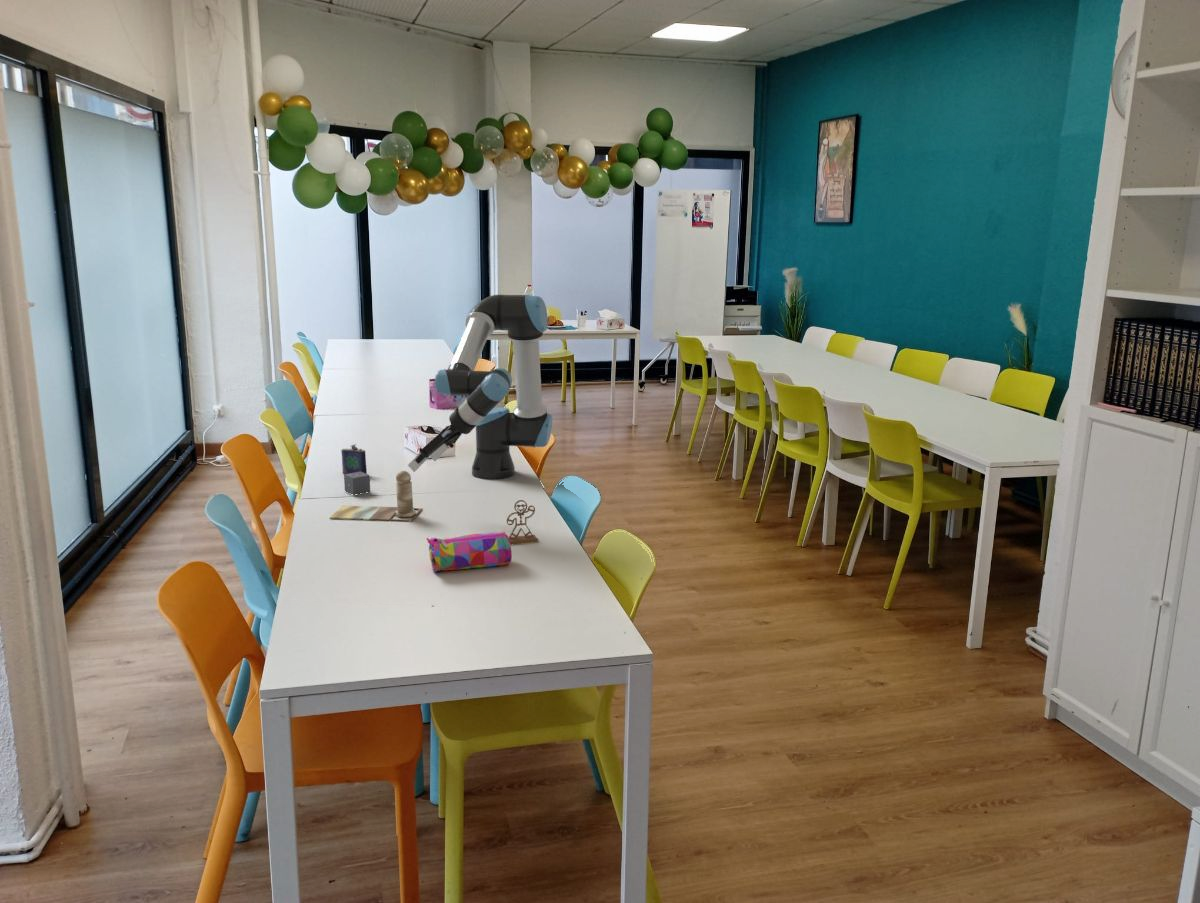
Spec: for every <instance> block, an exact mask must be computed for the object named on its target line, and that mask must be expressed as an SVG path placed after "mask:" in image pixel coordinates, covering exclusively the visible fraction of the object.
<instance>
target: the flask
mask: <svg viewBox="0 0 1200 903" xmlns="http://www.w3.org/2000/svg"><path fill="white" fill-rule="evenodd" d="M350 447H351V448H342V449H341V451H340V452H341V462H342V463H341V464H342V465H341V466H342V474H343V475H344V474H349V473H355V472H360V471H361V472H363V473H366V474H368V473H367V471H368V470H367V458H366V457H367V456H366V450H365V449H362V448H358V447H357V444H352V445H350Z"/></svg>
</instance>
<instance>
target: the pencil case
mask: <svg viewBox="0 0 1200 903" xmlns="http://www.w3.org/2000/svg"><path fill="white" fill-rule="evenodd" d="M426 541H427V543H428V551H429V552H428V553H429V554H428V555H429V558H430V559H429V560H430V564H431V568H432V572H434V573H436V572H439V571H440V572H441V571H444V572H445V571H456V570H457V571H459V570H465V569H478V568H479V569H481V568H489V567H490V568H491V567H499V566H500V567H501V566H506V565H510V564H511V562H512V554H513V553H512V552H513V551H512V545H510V540H509V535H507V532H506V531H505V530H504V531H500V532H489V533H472V534H465V535H461V536H455V537H449V538H438V537H431V538H429V537H426Z"/></svg>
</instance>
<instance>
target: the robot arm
mask: <svg viewBox="0 0 1200 903" xmlns="http://www.w3.org/2000/svg"><path fill="white" fill-rule="evenodd" d="M548 320H549V316H548V311H547V305H546V303H545V301H544V299H543V298H542V297H541V296H539V295H530V294H493V295H490V296H487V297H485V298H484V299H482V300H480V301H479V302H478V303H477V304H476V305H474V306H473V307H472V308H471V309H470V311H469V312H468V314H467V316H466V318H465V321H464V322H465V329H464V331H463V333H462V336H461V338H460V340H459V343H458V345H457V348H456V349H455V352H454V354H453V356H452V359H451V361H450V364H449V365H448V367H447V369H446V368H444V369H439V370H437V371H436V373H435V375H434V376H435V378H434V379H435V388H436V391H437V392H438V393H439V394H443V395H450V396H451V395H456V396H468V398H467V399H465V398H464V399H463V403H462V404H461V405H460V406H459V407H456V409H455V410H454V411H453V412H452V413H451V414H450V415H449V417H448V418H449V419H448V420H449V423H450V425H447V426H445V428H443V429H442V430H441V431H440V432H439V433H438V434H437V435H436V436H435V437H434V438H432V440H430V441H429V442H428V443H427V444H426V445H425V446H423V447H420V448H419V453H418V454H417V455H416V456H415V457H414V458H413V459H412V460H411V461H410V462H409V463H408V464H407V467H409V468H410V469H411V471H412V472H413V473H415V472H416V471H417V470H418V469H419V468H420V467H421V466H422V465H423V464H424V463H426V461H427V460H428V459H429V457H430V458H431V459H432V460H433V461H434V462H436V461H437V460H438V459H439V458H440V457H441V456H442V455H443V454H444V453H445V452H446V451H447V450H448V449H449V448H451V449H453V447H455V445H454V444H456V442H457V441H458V439H459V438H460V437H461V436H462V434H463V435H468V434H470V433H471V432H472V431H473V430H474V429H475V439H476V440H475V444H476V447H475V448H476V453H475V456H474V459H473V462H472V466H471V475H472V476H473V475H474V476H473V477H475V476H476V478H480V479H486V480H487V479H488V480H490V479H491V480H492V479H493V480H498V479H505V477H506V478H509V476H510V477H512V476H514V475H515V474H514V473H516V472H515V468H516V467H515V464H514V461H513V458H512V454H511V452H510V447H523V448H524V447H526V448H527V447H529V448H544V447H546V446H547V445H548V444H549V441H550V437H551V435H552V434H551V433H552V430H553V429H552V428H553V415H552V414H551V413H548V410H547V407H546V406H545V405H544V404H543V397H542V378H541V377H542V376H541V360H540V359H541V358H540V342H539V341H540V339H541V338H542V337H543V336H544V332H546V331H547V329H548V326H549V323H548ZM494 331H506V332H507V337H508V339H509V340H511V342H512V344H513V345H512V346H513V348H512V349H513V361H514V376H515V378H514V380H515V392H516V393H515V394H516V406H515V407H514V408H513V410H512V412H511V411H510V409H509V407H503V406H501V407H497V405H498V404H499V403H500V402H501V401H503V400H504V399H505V398H506V396H507V395H508V393H510V389H511V386H512V383H513V377H512V375H511V373H510V372H509V370H507V369H505V368H502V367H499V368H498V367H497V368H494V369H492V370H490V371H488V370H486V371H485V370H475V369H476V367H477V364H478V362H479V359H480V357H481V355H482V352H483V349H484V347H485V345H486V343H487V339H488V337H490V336H492V334H493V333H494ZM513 474H514V475H513Z"/></svg>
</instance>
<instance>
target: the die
mask: <svg viewBox="0 0 1200 903" xmlns="http://www.w3.org/2000/svg"><path fill="white" fill-rule="evenodd" d="M370 476H371V475H370V474H369V473H367V474H366V473H363V472H361V471H360V472H355V473H349V474H343V479H344V480H343V481H344V482H343V484H344V492H345V491H346V492H348V493H351V494H353V495H355V494H360V493H366V492H370V493H371V478H370ZM346 492H345V493H346ZM348 493H347V494H348ZM351 494H350V495H351ZM366 494H367V493H366ZM353 495H352V496H353Z"/></svg>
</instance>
